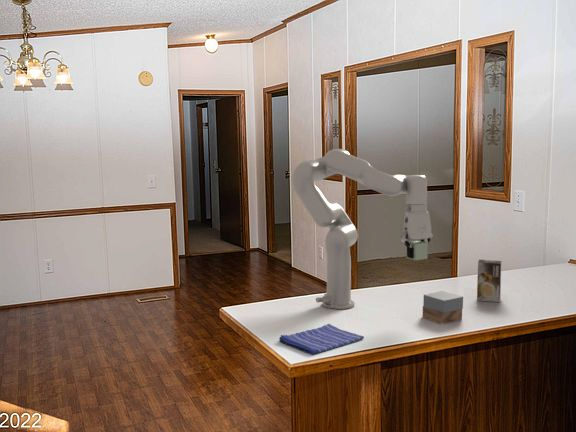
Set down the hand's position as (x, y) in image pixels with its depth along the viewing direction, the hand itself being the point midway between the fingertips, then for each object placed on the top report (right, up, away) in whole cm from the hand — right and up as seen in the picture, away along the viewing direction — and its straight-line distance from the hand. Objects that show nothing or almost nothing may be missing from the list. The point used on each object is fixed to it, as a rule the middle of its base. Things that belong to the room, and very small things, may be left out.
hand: (416, 256), depth 230 cm
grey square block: (+9, -19, -3) cm, 21 cm away
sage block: (0, -1, 0) cm, 1 cm away
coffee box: (+34, -20, +24) cm, 46 cm away
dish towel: (-37, -27, -26) cm, 53 cm away
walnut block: (+9, -23, -2) cm, 25 cm away
